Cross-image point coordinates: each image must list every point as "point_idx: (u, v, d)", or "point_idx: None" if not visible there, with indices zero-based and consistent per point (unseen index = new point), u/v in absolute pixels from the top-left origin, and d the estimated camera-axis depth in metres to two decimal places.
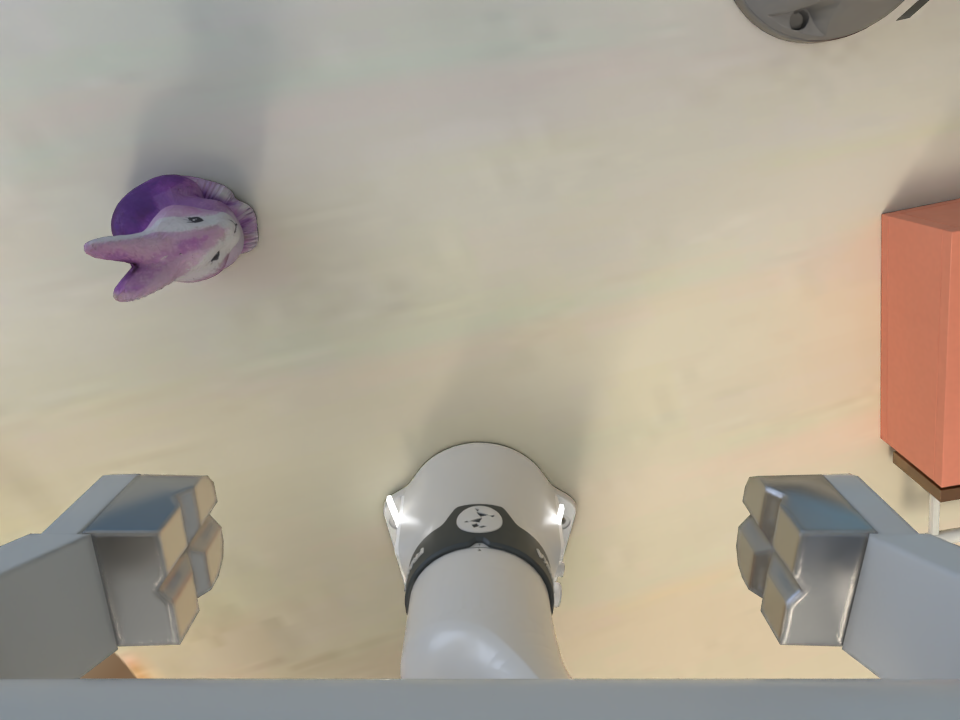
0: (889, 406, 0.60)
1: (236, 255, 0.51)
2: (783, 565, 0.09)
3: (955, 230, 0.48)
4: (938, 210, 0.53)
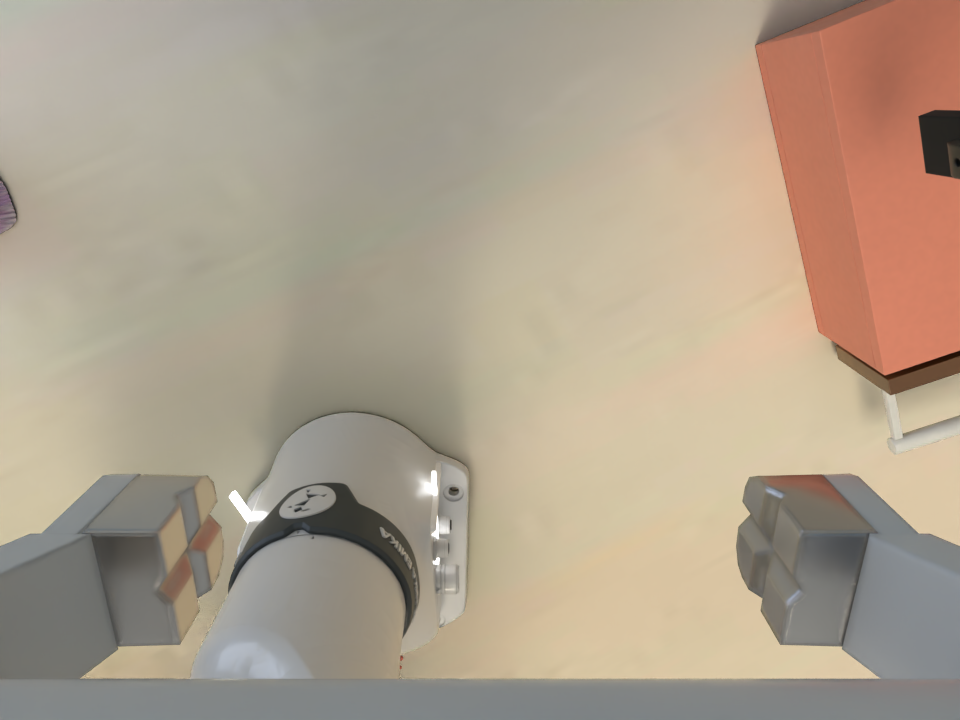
0: (816, 289, 0.48)
1: None
2: (784, 564, 0.09)
3: (824, 28, 0.36)
4: (819, 21, 0.41)
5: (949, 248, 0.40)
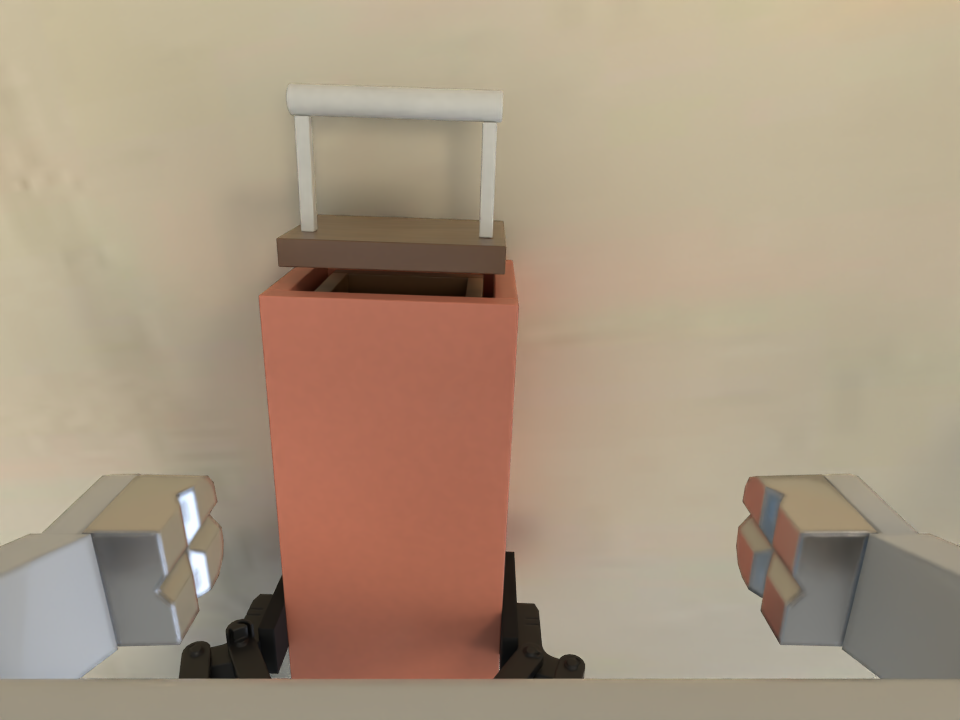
0: None
1: None
2: (783, 565, 0.09)
3: None
4: None
5: (399, 450, 0.30)
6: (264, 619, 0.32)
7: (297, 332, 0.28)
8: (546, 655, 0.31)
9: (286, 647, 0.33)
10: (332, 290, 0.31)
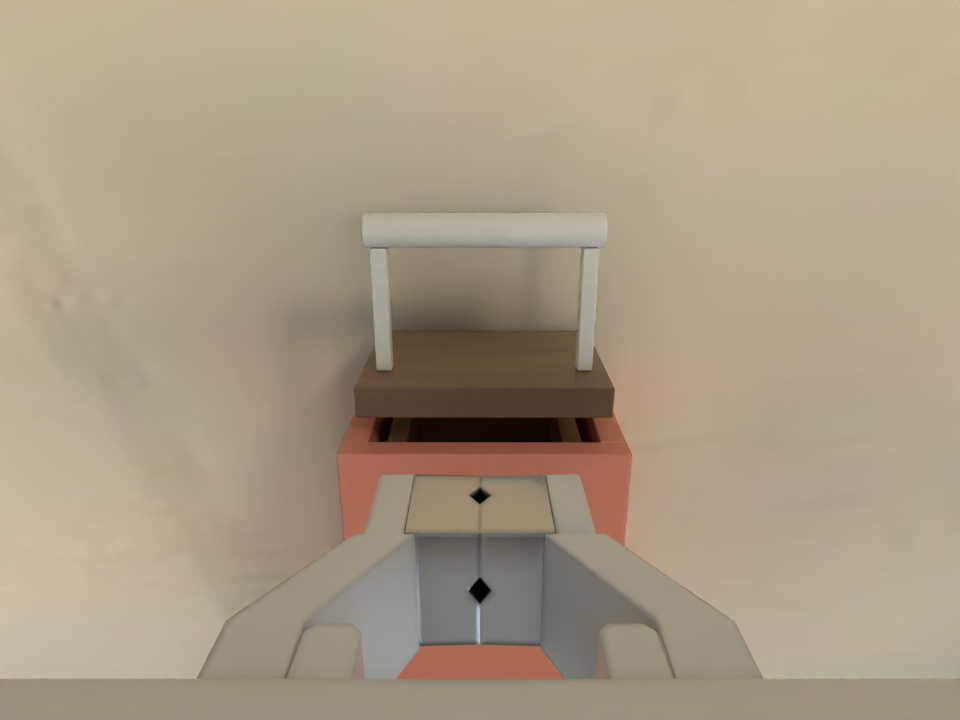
0: None
1: None
2: None
3: None
4: None
5: None
6: None
7: None
8: None
9: None
10: (409, 428, 0.27)
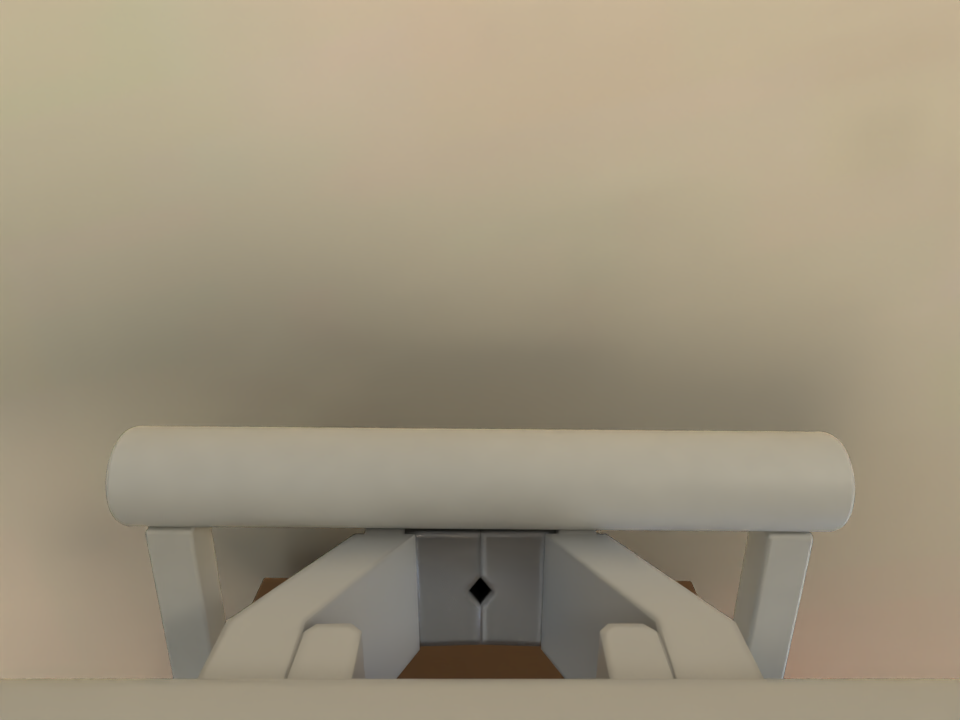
0: None
1: None
2: None
3: None
4: None
5: None
6: None
7: None
8: None
9: None
10: None
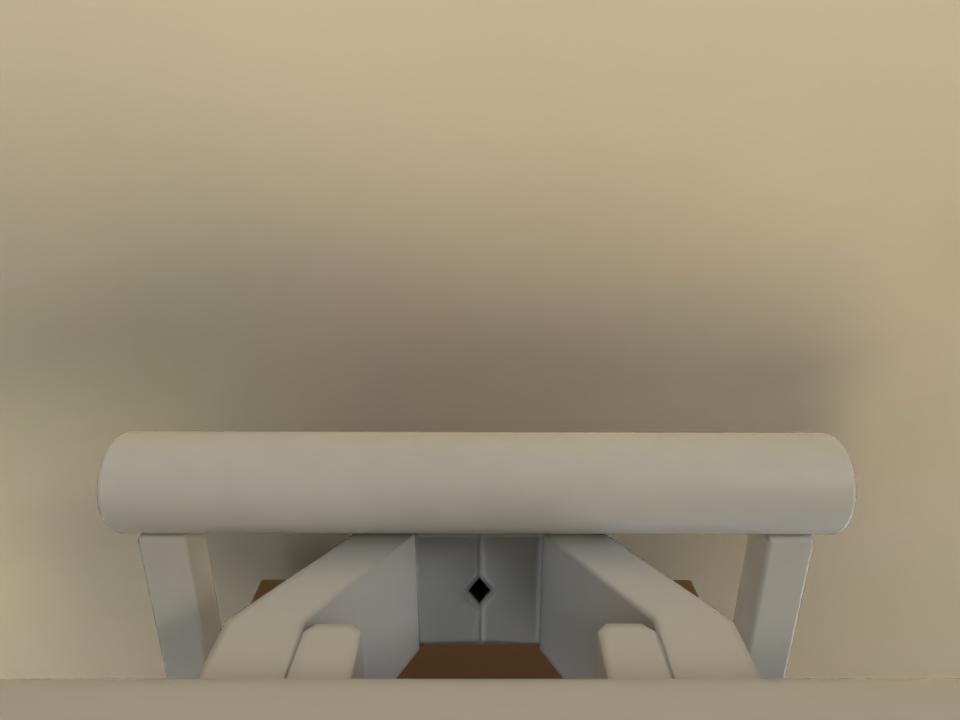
0: None
1: None
2: None
3: None
4: None
5: None
6: None
7: None
8: None
9: None
10: None
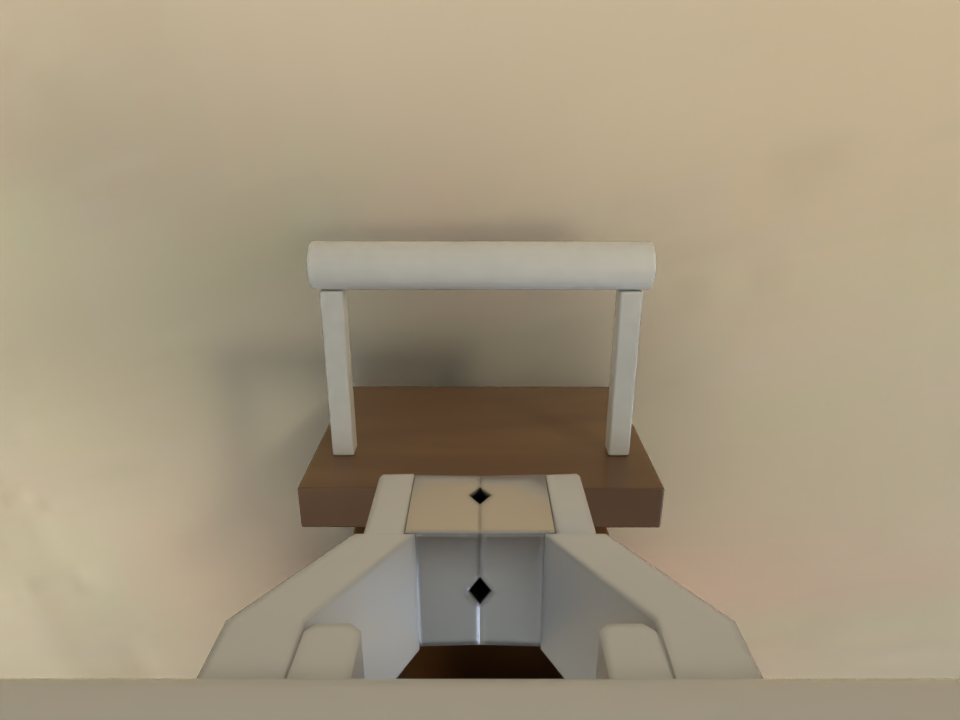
0: None
1: None
2: None
3: None
4: None
5: None
6: None
7: None
8: None
9: None
10: None
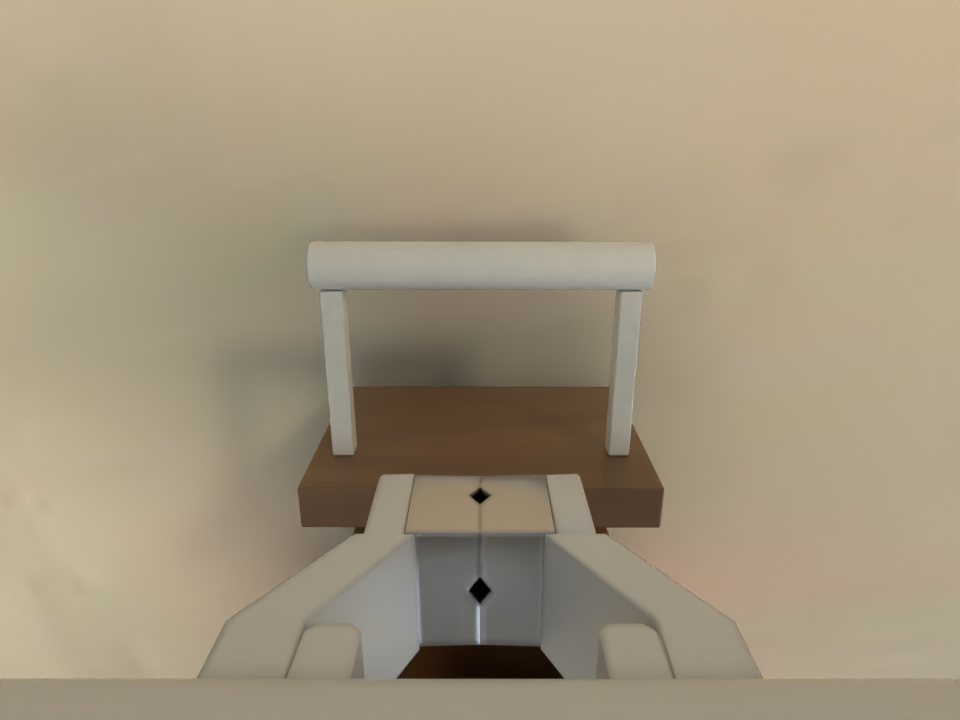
0: None
1: None
2: None
3: None
4: None
5: None
6: None
7: None
8: None
9: None
10: None
